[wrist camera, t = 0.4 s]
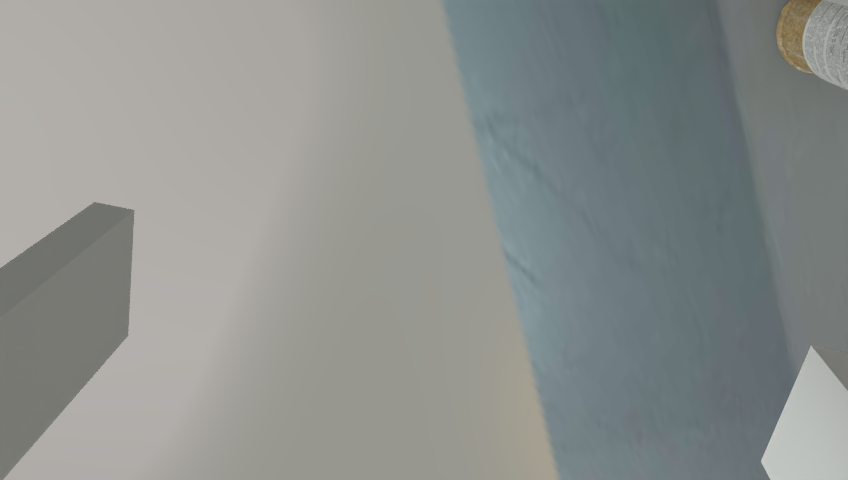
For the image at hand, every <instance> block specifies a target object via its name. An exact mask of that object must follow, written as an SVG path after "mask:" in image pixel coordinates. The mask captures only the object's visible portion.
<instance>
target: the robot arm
mask: <svg viewBox="0 0 848 480" xmlns="http://www.w3.org/2000/svg"><path fill="white" fill-rule="evenodd" d="M133 224H134V210H131V209H126V208H121V207H116V206H111V205H106V204H101V203H96V202H94V203H93V204H91V205H90V206H88V207H87V208H86V209H84V210H83V211H81V212H80V213H78V214H77V215H75V216H74V217H73V218H71V219H70V220H68V221H67V222H66V223H64V224H63V225H61V226H60V227H59V228H57V229H55V230H54V231H53V232H51V233H50V234H48V235H47V236H46V237H44V238H43V239H41V240H40V241H38V242H37V243H36V244H34V245H33V246H31V247H30V248H28V249H27V250H26V251H24V252H23V253H21V254H20V255H18V256H17V257H16V258H14V259H13V260H11V261H10V262H8V263H7V264H6V265H4V266H3V267H1V268H0V480H3V479H4V478H5V476H6V475H7V474H8V473H9V472H10V471H11V470H12V469H13V467H14V466H15V465H16V464H17V463H18V461H19V460H20V459H21V458H22V457H23V456H24V455H25V453H26V452H27V451H28V450H29V449H30V448H31V447H32V446H33V444H34V443H35V442H36V441H37V440H38V439H39V438H40V436H41V435H42V434H43V433H44V432H45V431H46V429H47V428H48V427H49V426H50V425H51V424H52V423H53V421H54V420H55V419H56V418H57V417H58V416H59V414H60V413H61V412H62V411H63V410H64V409H65V408H66V406H67V405H68V404H69V403H70V402H71V401H72V400H73V398H74V397H75V396H76V395H77V394H78V393H79V392H80V390H81V389H82V388H83V387H84V386H85V385H86V383H87V382H88V381H89V380H90V379H91V378H92V377H93V375H94V374H95V373H96V372H97V371H98V369H100V367H101V366H102V365H103V364H104V363H105V362H106V360H107V359H108V358H109V357H110V356H111V355H112V353H113V352H114V351H115V350H116V349H117V348H118V347H119V345H120V344H121V343H122V342H123V341H124V340H125V339H126V337H127V336H128V325H129V305H130V285H131V263H132V244H133ZM761 463H762V464H763V466H764V468H765V470H766V472H767V474H768V476H769V478H770V479H771V480H848V353H846V352H841V351H836V350H831V349H826V348H821V347H816V346H811V347H810V349H809V352H808V354H807V356H806V359H805V361H804V363H803V366H802V368H801V370H800V373H799V375H798V377H797V379H796V382H795V384H794V386H793V389H792V391H791V393H790V396H789V398H788V400H787V403H786V405H785V407H784V409H783V412H782V414H781V416H780V419H779V421H778V423H777V426H776V428H775V430H774V433H773V435H772V437H771V440H770V442H769V444H768V446H767V449H766V451H765V453H764V456H763V458H762V460H761Z"/></svg>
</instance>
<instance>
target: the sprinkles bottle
mask: <svg viewBox="0 0 848 480" xmlns="http://www.w3.org/2000/svg"><path fill="white" fill-rule="evenodd" d="M776 38H777V46H778V48H779V50H780V52H781V54H782V56H783V57H784V59H785V60H786V61H787V62H788V63H789V64H790V65H791V66H793V67H794V68H796V69H797V70H799V71H802V72H805V73H809V74H816V75H817V76H819V77H820V78H822V79H823V80H825V81H827V82H829V83H832V84H834V85H836V86H838V87H840V88H843V89H845V90H847V91H848V0H789V1H788V2H787V4H786V5H785V6H784V7H783V9H782V11H781V15H780V18H779V21H778V24H777V30H776Z"/></svg>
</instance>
